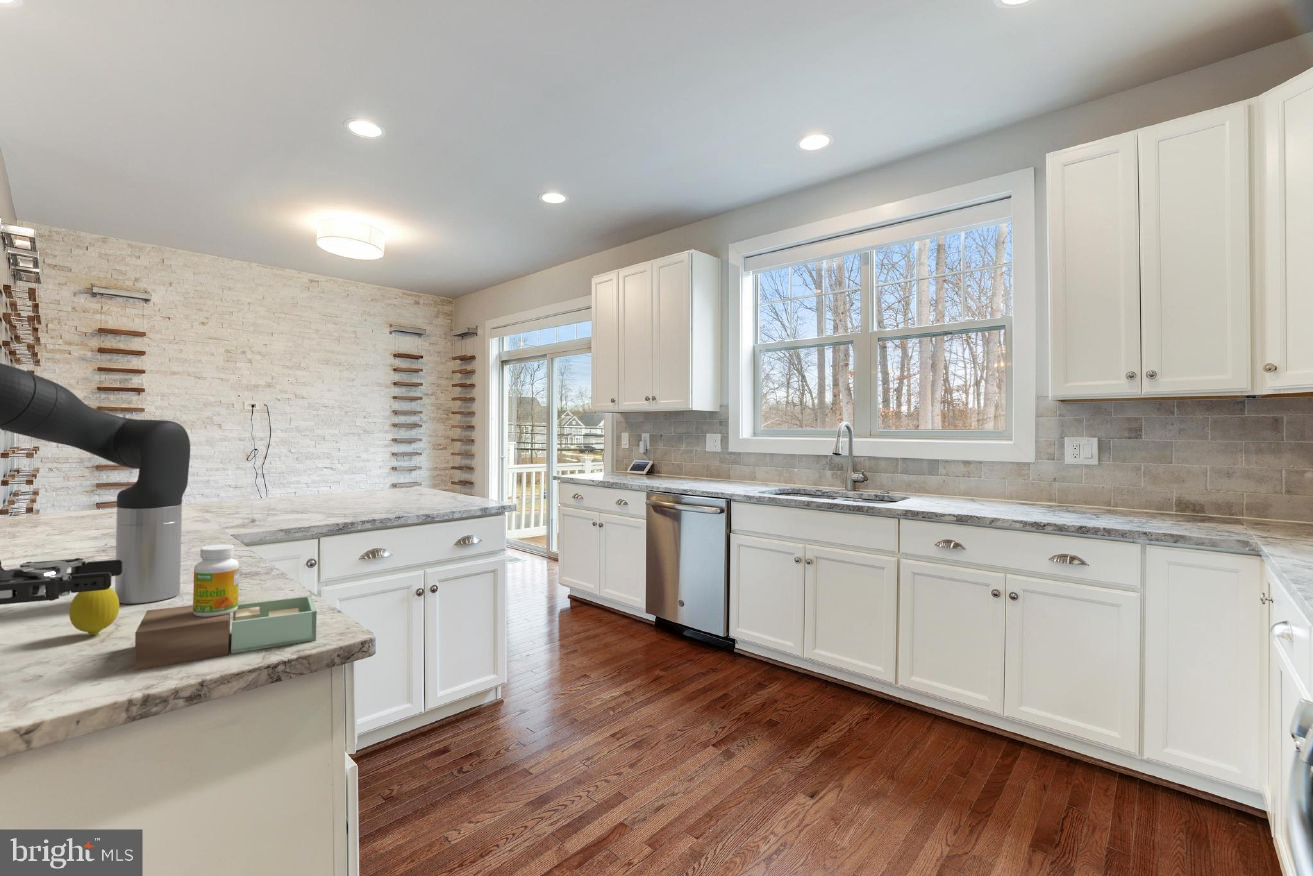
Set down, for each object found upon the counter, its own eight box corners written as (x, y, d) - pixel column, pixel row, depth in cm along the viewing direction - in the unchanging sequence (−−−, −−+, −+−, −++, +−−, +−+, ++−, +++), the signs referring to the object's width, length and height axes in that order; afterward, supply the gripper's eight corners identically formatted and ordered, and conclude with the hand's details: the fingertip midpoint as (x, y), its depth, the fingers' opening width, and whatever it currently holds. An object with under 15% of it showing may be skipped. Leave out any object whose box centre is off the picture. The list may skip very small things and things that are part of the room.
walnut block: (146, 643, 87) (147, 610, 87) (229, 632, 92) (230, 600, 92) (134, 669, 78) (135, 632, 78) (227, 655, 83) (228, 620, 83)
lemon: (87, 643, 86) (88, 589, 86) (58, 639, 87) (60, 586, 87) (128, 630, 92) (129, 580, 92) (100, 627, 93) (101, 577, 93)
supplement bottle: (187, 619, 83) (188, 551, 83) (199, 608, 88) (200, 544, 88) (232, 615, 85) (234, 549, 85) (242, 605, 90) (243, 542, 90)
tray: (232, 632, 92) (233, 604, 92) (310, 621, 98) (311, 595, 98) (231, 653, 84) (231, 622, 84) (315, 640, 90) (316, 611, 90)
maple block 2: (298, 607, 95) (297, 626, 95) (268, 611, 92) (268, 630, 92) (299, 614, 91) (299, 633, 91) (268, 618, 89) (268, 638, 89)
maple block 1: (235, 609, 90) (259, 606, 91) (235, 635, 90) (258, 632, 91) (235, 616, 86) (259, 613, 88) (234, 643, 86) (259, 639, 88)
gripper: (-89, 569, 65) (108, 556, 75) (-39, 547, 77) (126, 538, 86) (-91, 636, 65) (106, 614, 75) (-40, 604, 77) (124, 588, 86)
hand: (116, 573), depth 80 cm, fingers open, 8 cm apart
